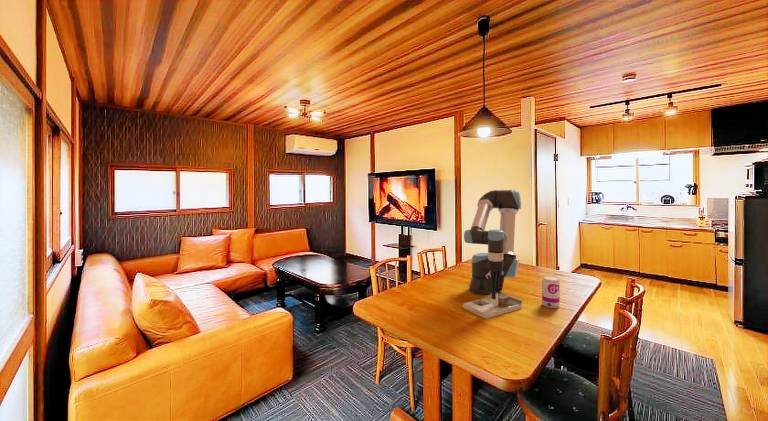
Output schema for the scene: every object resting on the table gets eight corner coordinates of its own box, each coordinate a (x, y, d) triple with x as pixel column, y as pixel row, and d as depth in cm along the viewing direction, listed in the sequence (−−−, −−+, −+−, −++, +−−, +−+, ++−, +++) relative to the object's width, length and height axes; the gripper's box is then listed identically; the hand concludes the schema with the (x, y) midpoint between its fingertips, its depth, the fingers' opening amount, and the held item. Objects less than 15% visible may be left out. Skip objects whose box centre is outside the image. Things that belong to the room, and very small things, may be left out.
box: (486, 318, 149) (486, 310, 149) (463, 307, 163) (463, 299, 163) (521, 308, 161) (521, 300, 161) (497, 299, 175) (497, 291, 175)
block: (502, 308, 156) (502, 298, 155) (494, 304, 160) (494, 295, 160) (509, 306, 158) (509, 296, 157) (501, 303, 162) (501, 294, 162)
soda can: (561, 309, 159) (562, 281, 158) (544, 308, 161) (545, 280, 160) (556, 303, 167) (556, 276, 166) (539, 302, 169) (540, 276, 168)
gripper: (492, 263, 149) (491, 309, 151) (510, 259, 155) (509, 304, 157) (480, 260, 156) (480, 304, 158) (498, 257, 162) (498, 300, 163)
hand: (495, 304), depth 157 cm, fingers closed
